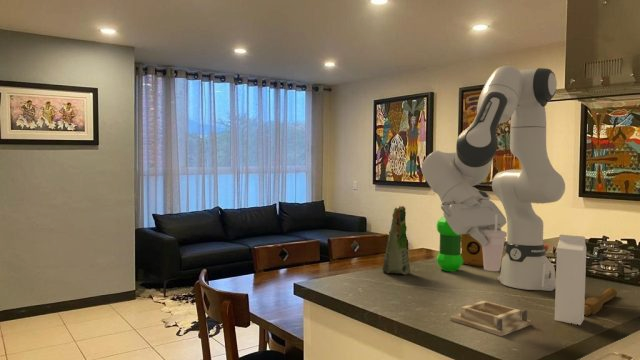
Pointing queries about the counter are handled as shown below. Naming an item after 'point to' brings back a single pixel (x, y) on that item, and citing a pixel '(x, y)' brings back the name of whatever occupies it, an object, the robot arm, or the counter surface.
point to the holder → (492, 318)
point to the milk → (570, 279)
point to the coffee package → (471, 250)
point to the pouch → (397, 245)
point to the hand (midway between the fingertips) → (494, 243)
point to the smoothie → (493, 248)
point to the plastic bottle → (449, 247)
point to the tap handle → (598, 301)
